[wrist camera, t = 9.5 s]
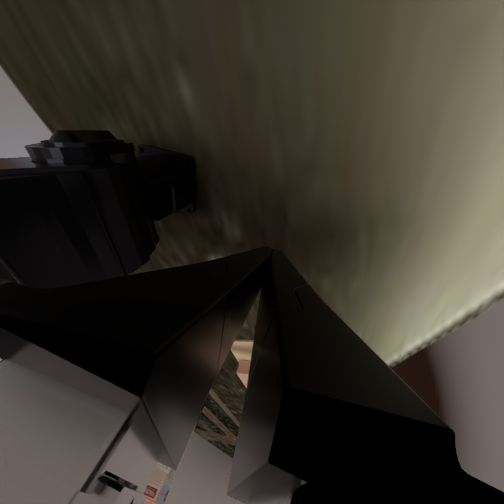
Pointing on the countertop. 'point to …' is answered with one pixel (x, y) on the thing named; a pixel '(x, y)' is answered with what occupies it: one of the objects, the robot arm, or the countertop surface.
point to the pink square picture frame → (244, 371)
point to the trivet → (242, 349)
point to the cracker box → (161, 482)
